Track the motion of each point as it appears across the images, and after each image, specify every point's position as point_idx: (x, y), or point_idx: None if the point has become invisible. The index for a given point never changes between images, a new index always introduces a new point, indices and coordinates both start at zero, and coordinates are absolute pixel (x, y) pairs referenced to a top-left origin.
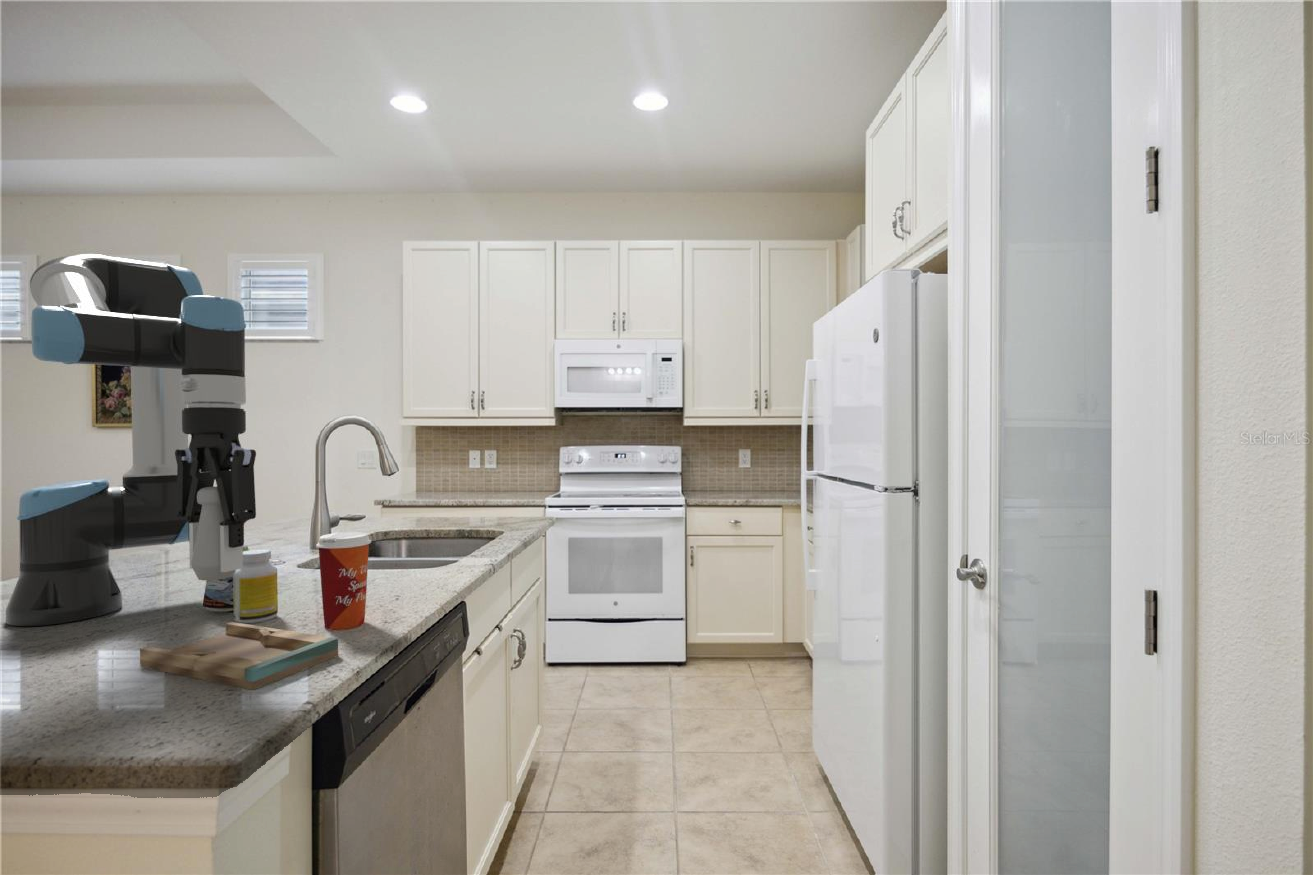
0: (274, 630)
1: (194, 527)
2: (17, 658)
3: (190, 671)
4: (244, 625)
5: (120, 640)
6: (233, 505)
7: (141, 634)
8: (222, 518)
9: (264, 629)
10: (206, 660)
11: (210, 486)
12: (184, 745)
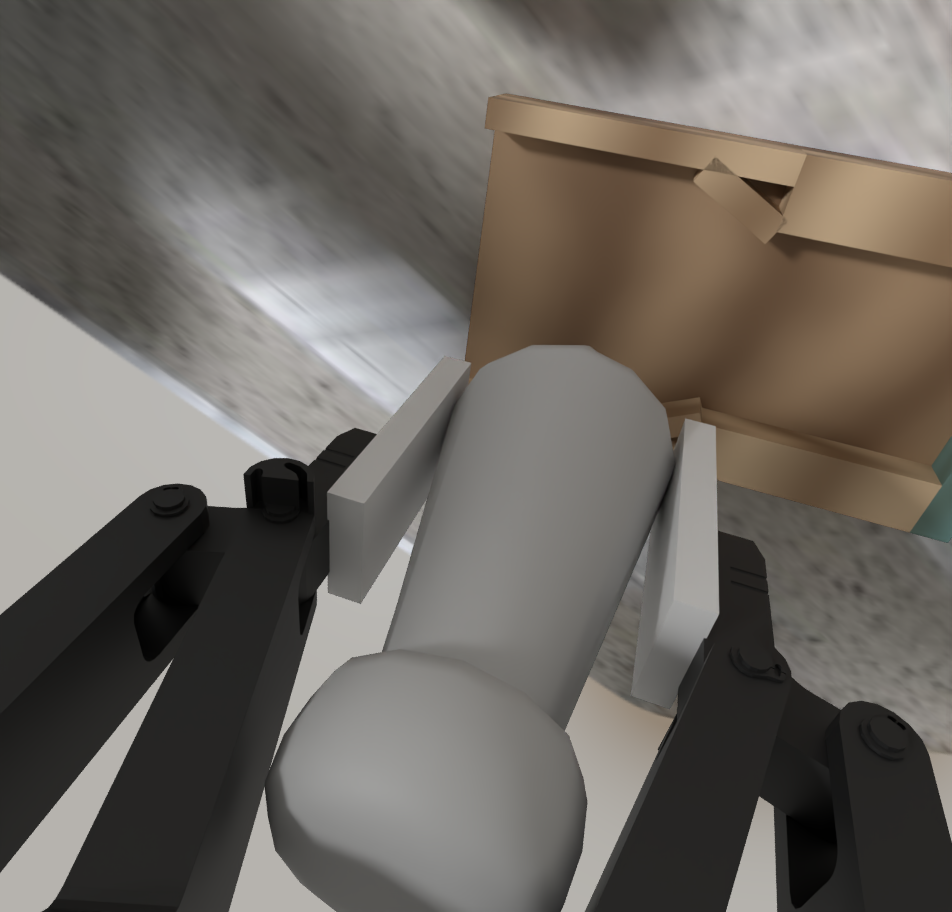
0: (770, 171)
1: (375, 577)
2: (143, 362)
3: None
4: (580, 131)
5: (192, 201)
6: (783, 907)
7: (181, 133)
8: (586, 678)
9: (713, 166)
10: (733, 480)
11: (226, 800)
12: (937, 717)
